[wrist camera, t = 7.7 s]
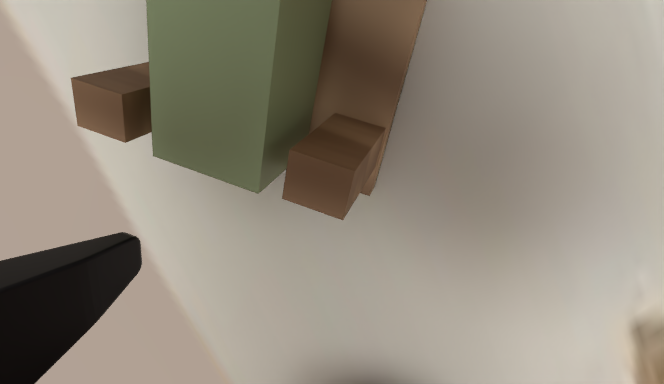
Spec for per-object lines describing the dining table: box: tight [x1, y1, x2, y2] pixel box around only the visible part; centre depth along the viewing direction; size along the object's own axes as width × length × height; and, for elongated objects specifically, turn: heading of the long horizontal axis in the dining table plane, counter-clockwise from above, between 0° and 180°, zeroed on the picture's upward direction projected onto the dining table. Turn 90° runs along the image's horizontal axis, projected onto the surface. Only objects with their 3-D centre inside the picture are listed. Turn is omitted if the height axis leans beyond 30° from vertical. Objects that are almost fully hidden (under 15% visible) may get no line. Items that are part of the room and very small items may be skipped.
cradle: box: [71, 0, 427, 220], centre depth 15 cm, size 13×12×6 cm
